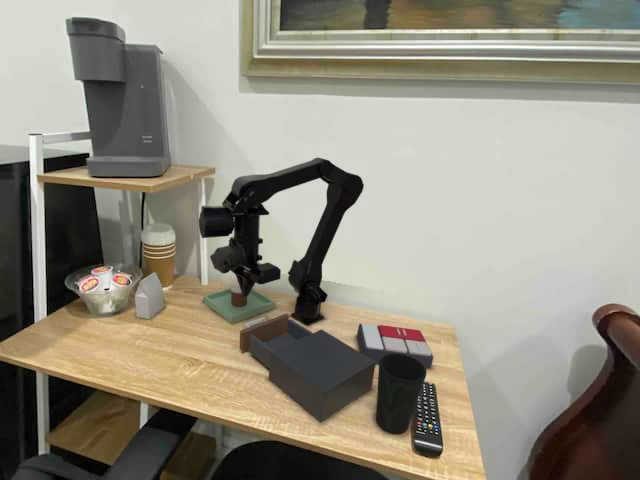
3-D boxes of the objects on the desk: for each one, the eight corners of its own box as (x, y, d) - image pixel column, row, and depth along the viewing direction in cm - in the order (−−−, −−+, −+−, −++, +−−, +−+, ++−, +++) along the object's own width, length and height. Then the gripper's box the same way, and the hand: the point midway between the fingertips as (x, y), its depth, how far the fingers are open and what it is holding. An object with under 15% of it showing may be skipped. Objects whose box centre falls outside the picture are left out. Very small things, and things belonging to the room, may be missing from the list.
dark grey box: (268, 379, 79) (270, 352, 76) (319, 354, 88) (321, 329, 86) (320, 423, 69) (324, 392, 66) (371, 389, 78) (376, 361, 75)
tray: (244, 289, 117) (244, 283, 117) (274, 308, 107) (275, 301, 107) (203, 302, 108) (203, 295, 108) (231, 323, 98) (231, 316, 98)
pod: (241, 298, 111) (241, 284, 109) (250, 304, 108) (250, 289, 106) (227, 302, 108) (227, 287, 106) (237, 309, 105) (237, 293, 103)
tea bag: (163, 307, 104) (161, 273, 101) (149, 319, 98) (146, 283, 95) (151, 305, 105) (149, 270, 102) (136, 316, 99) (133, 280, 96)
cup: (364, 407, 73) (373, 353, 69) (404, 406, 74) (415, 352, 69) (377, 440, 66) (388, 381, 61) (421, 438, 66) (434, 381, 62)
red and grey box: (435, 355, 84) (365, 345, 84) (430, 371, 85) (361, 362, 86) (421, 328, 94) (359, 320, 94) (417, 343, 95) (356, 335, 96)
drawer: (229, 340, 90) (229, 322, 88) (273, 323, 98) (274, 306, 96) (278, 380, 77) (279, 360, 76) (325, 357, 86) (327, 338, 84)
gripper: (194, 229, 89) (195, 290, 95) (241, 252, 76) (240, 322, 82) (234, 222, 96) (234, 279, 102) (284, 243, 83) (280, 307, 89)
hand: (245, 296), depth 93 cm, fingers closed
